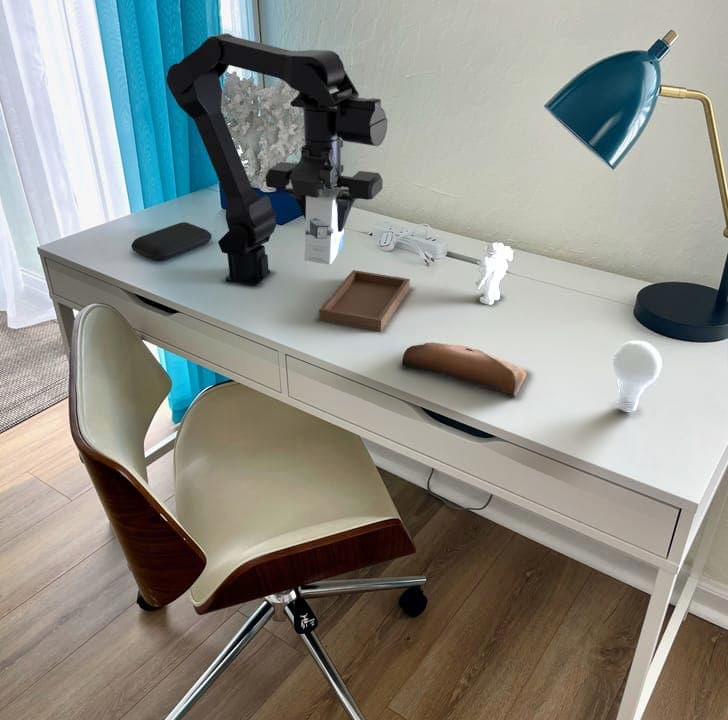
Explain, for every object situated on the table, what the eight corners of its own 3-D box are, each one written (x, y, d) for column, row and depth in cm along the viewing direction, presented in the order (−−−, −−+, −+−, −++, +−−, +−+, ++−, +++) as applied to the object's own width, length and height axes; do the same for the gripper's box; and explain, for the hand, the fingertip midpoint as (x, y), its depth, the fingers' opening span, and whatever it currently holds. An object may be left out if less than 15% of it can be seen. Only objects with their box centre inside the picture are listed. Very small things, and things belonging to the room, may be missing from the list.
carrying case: (183, 230, 158) (124, 251, 148) (181, 216, 156) (122, 237, 147) (216, 243, 153) (158, 266, 143) (215, 229, 151) (155, 251, 141)
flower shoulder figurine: (485, 311, 130) (492, 248, 123) (467, 304, 132) (472, 242, 125) (512, 294, 135) (520, 232, 129) (494, 287, 138) (501, 227, 131)
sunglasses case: (530, 369, 113) (528, 347, 107) (516, 409, 110) (513, 389, 105) (422, 342, 119) (415, 320, 114) (406, 379, 117) (398, 358, 111)
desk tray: (319, 320, 126) (319, 309, 125) (353, 280, 139) (353, 269, 138) (381, 331, 123) (381, 320, 122) (409, 289, 136) (409, 279, 135)
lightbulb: (603, 393, 109) (617, 329, 103) (648, 401, 107) (665, 336, 101) (601, 418, 104) (616, 351, 98) (648, 427, 102) (666, 360, 96)
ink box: (318, 241, 132) (318, 178, 126) (345, 245, 132) (347, 181, 125) (304, 261, 125) (303, 195, 119) (332, 265, 124) (333, 198, 118)
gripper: (246, 144, 114) (254, 239, 122) (360, 157, 109) (360, 255, 117) (277, 126, 123) (283, 216, 131) (383, 137, 118) (383, 229, 126)
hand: (325, 229), depth 126 cm, fingers closed on ink box, 5 cm apart
